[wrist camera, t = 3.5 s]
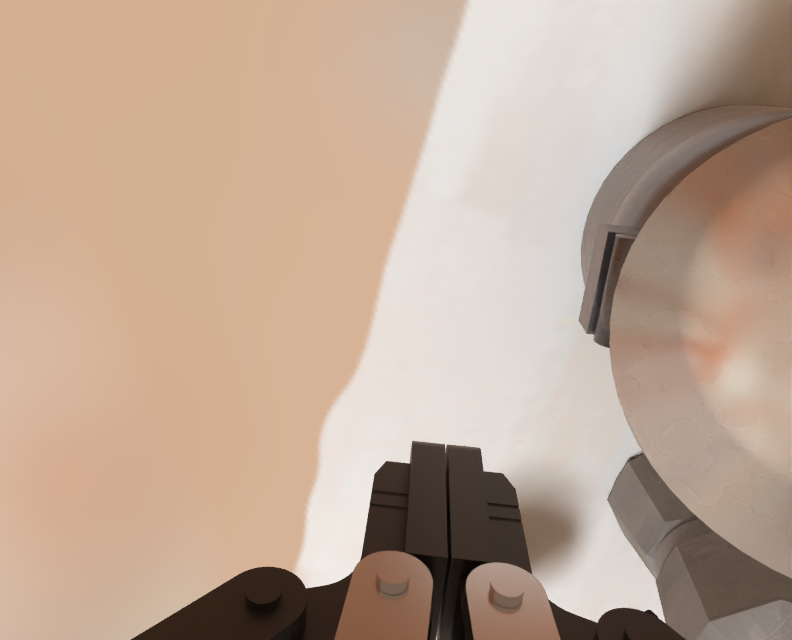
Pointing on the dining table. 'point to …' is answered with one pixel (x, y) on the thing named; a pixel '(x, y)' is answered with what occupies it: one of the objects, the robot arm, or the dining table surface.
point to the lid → (714, 342)
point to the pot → (657, 183)
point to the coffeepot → (698, 565)
